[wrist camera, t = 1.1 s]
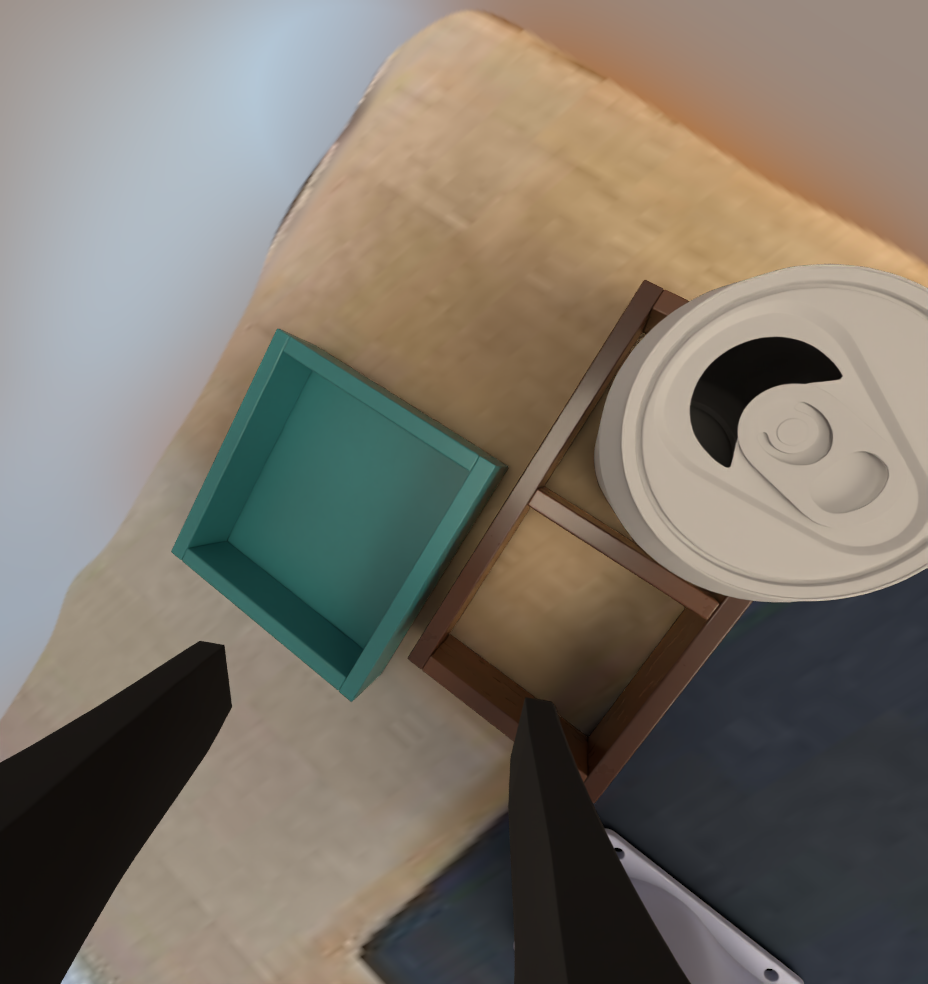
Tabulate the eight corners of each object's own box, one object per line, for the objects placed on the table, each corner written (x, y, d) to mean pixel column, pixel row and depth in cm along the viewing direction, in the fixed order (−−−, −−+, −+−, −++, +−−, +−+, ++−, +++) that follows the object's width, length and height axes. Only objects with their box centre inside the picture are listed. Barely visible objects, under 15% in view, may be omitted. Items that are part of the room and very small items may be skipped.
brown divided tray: (857, 416, 17) (907, 405, 14) (594, 761, 20) (594, 804, 18) (636, 306, 19) (644, 278, 16) (428, 636, 22) (406, 658, 20)
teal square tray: (509, 466, 21) (496, 465, 18) (381, 674, 23) (351, 703, 20) (315, 345, 23) (276, 327, 20) (217, 542, 26) (170, 552, 23)
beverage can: (680, 349, 19) (824, 150, 7) (796, 462, 18) (1180, 443, 6) (563, 453, 20) (527, 427, 9) (665, 563, 19) (777, 699, 8)
